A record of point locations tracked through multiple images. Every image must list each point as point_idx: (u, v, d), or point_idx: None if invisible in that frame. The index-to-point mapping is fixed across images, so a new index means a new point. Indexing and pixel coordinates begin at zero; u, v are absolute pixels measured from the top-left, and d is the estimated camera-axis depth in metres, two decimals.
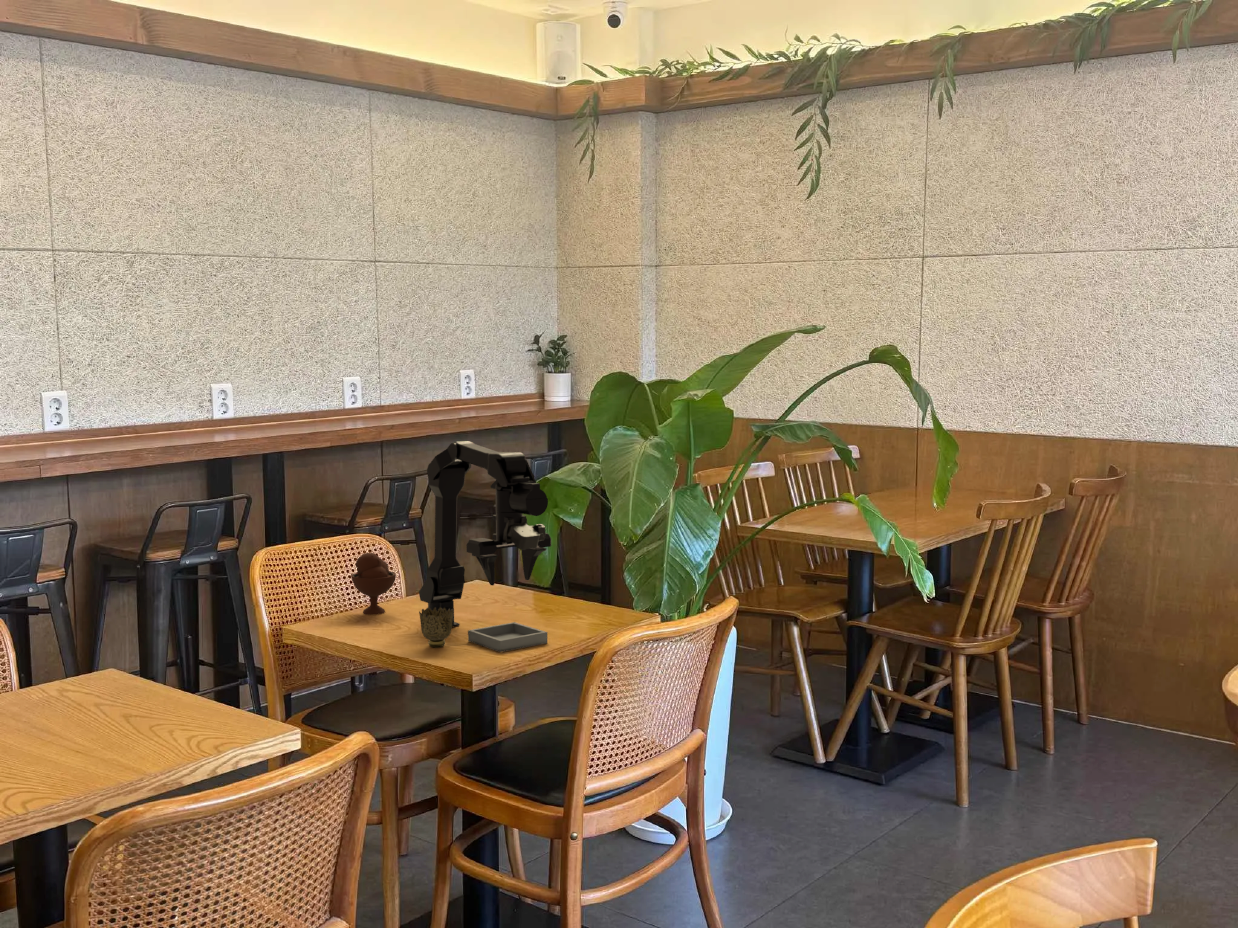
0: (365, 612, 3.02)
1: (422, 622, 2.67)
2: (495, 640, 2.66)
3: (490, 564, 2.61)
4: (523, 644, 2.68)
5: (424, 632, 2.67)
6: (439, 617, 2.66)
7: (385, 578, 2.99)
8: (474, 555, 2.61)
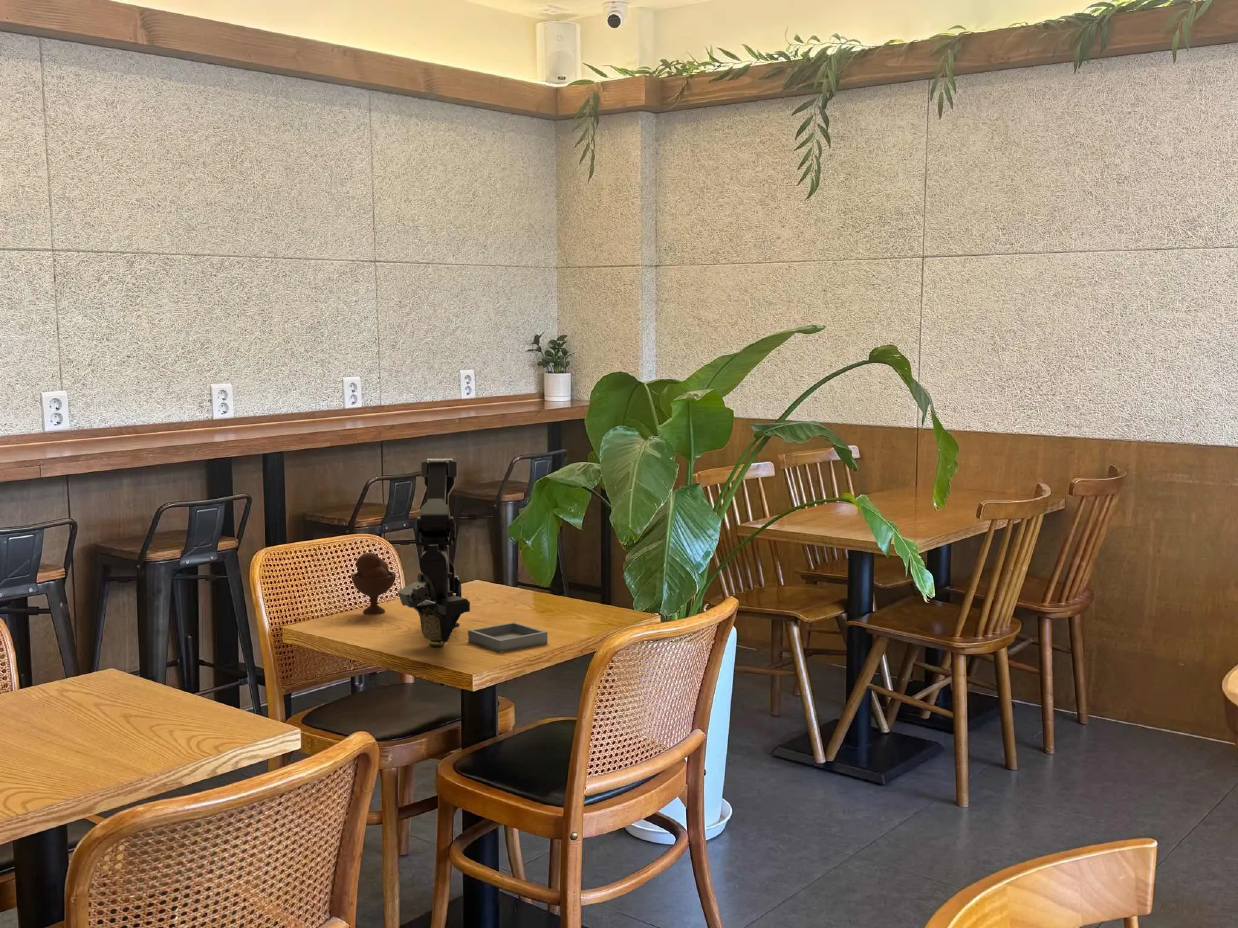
0: (365, 612, 3.02)
1: (422, 622, 2.67)
2: (495, 640, 2.66)
3: None
4: (523, 644, 2.68)
5: (424, 632, 2.67)
6: None
7: (385, 578, 2.99)
8: None
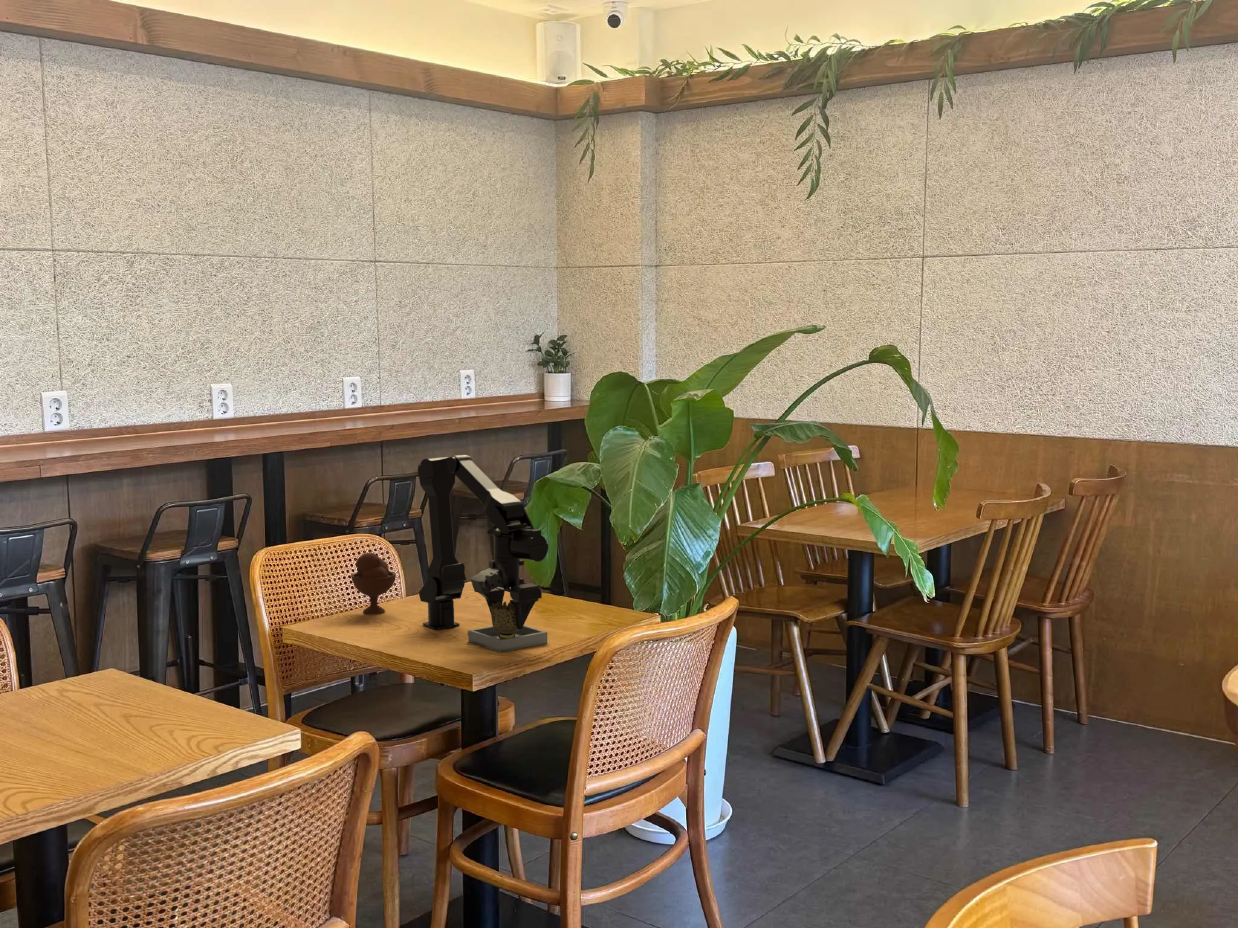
0: (365, 612, 3.02)
1: (493, 616, 2.71)
2: (495, 640, 2.66)
3: (486, 600, 2.76)
4: (523, 644, 2.68)
5: (495, 626, 2.71)
6: (510, 611, 2.69)
7: (385, 578, 2.99)
8: None
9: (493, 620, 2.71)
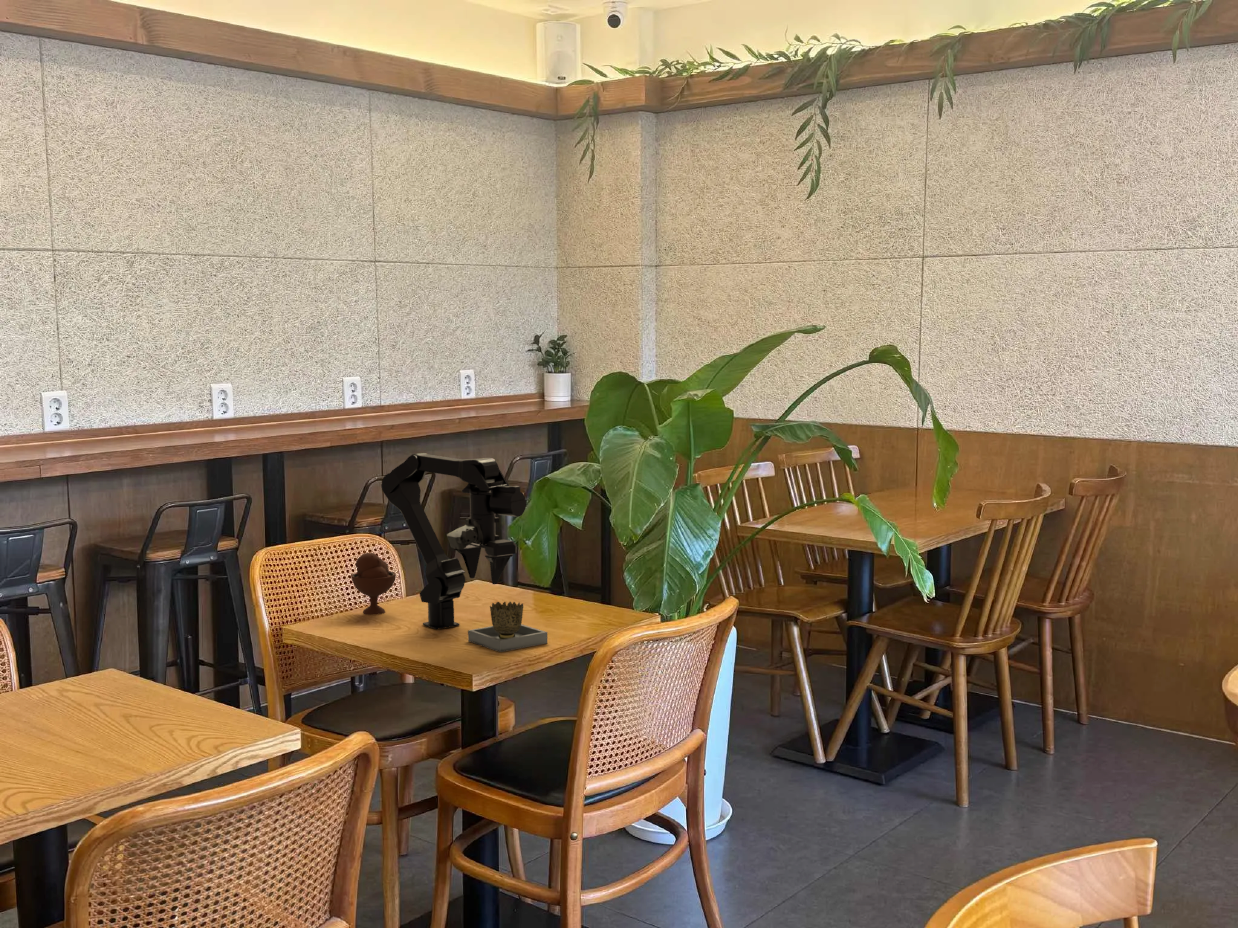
0: (365, 612, 3.02)
1: (493, 616, 2.71)
2: (495, 640, 2.66)
3: (463, 557, 2.84)
4: (523, 644, 2.68)
5: (495, 626, 2.71)
6: (510, 611, 2.69)
7: (385, 578, 2.99)
8: None
9: (493, 620, 2.71)
